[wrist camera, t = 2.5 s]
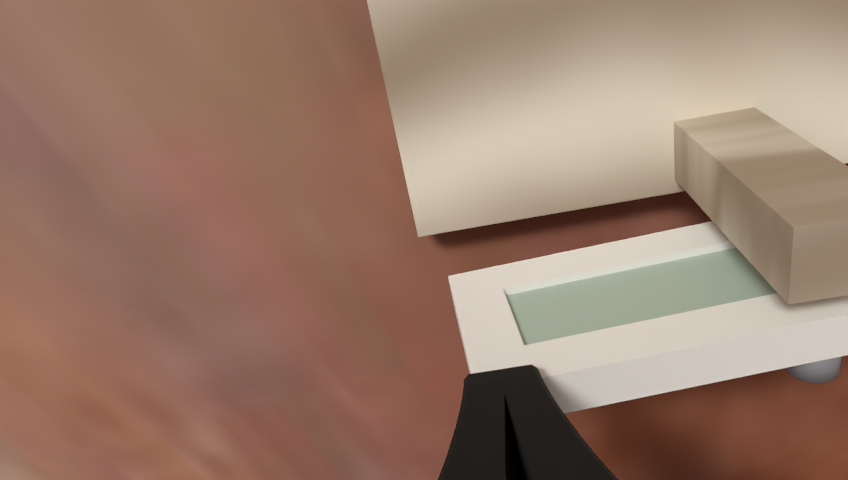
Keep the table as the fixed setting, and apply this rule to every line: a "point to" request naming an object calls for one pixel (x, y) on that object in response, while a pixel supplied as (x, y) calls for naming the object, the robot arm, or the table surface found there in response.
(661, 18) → the easel stand
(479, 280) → the frame
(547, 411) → the robot arm
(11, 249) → the table surface
